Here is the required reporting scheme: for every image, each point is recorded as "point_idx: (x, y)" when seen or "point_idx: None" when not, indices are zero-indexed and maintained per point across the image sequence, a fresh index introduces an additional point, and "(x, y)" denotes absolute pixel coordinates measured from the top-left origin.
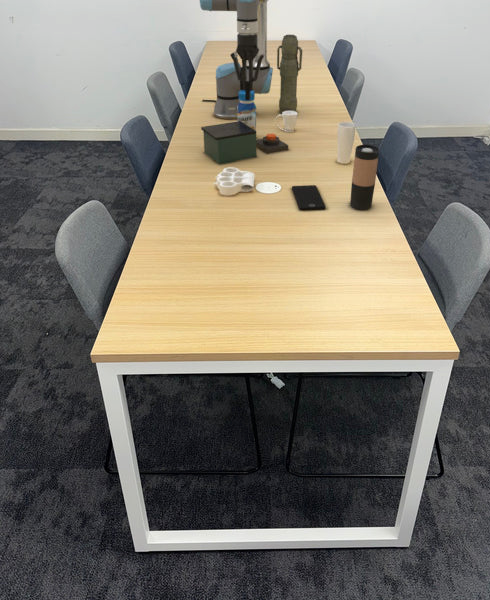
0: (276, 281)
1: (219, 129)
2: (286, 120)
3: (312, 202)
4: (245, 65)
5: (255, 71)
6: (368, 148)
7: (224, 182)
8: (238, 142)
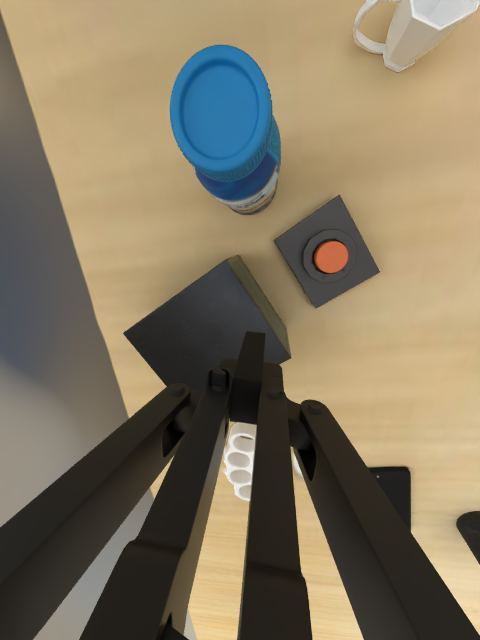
0: (323, 627)
1: (179, 349)
2: (411, 41)
3: None
4: (196, 561)
5: (322, 521)
6: None
7: (241, 486)
8: None
